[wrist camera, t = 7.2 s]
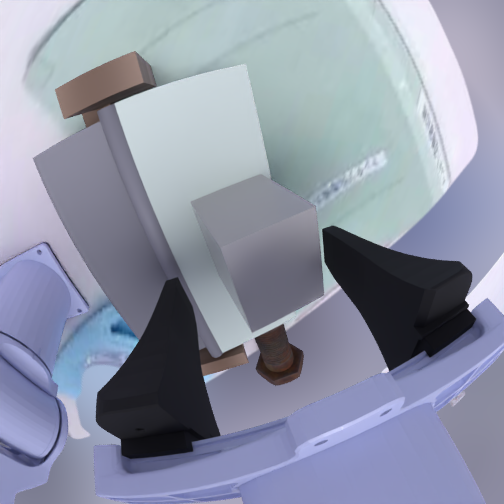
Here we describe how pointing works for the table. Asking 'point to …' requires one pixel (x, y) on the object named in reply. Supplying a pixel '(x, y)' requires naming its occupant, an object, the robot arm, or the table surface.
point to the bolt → (278, 357)
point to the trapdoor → (160, 195)
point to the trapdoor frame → (88, 103)
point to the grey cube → (263, 247)
